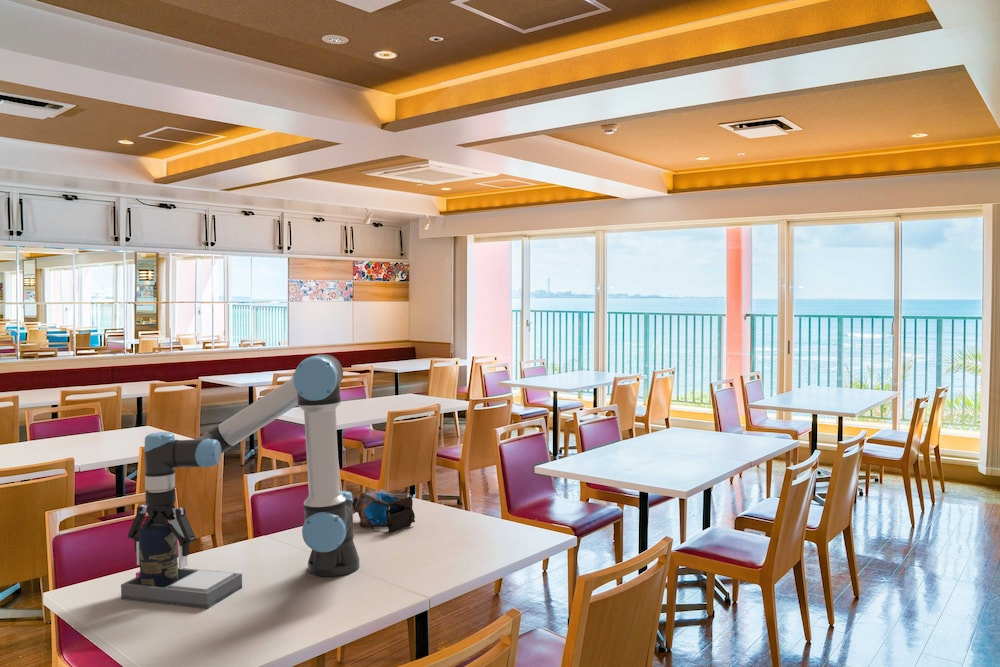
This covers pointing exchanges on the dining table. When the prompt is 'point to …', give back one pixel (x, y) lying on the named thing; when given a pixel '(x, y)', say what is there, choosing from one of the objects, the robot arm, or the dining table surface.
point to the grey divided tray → (186, 588)
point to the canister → (158, 555)
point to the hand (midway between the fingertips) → (162, 565)
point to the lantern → (384, 510)
